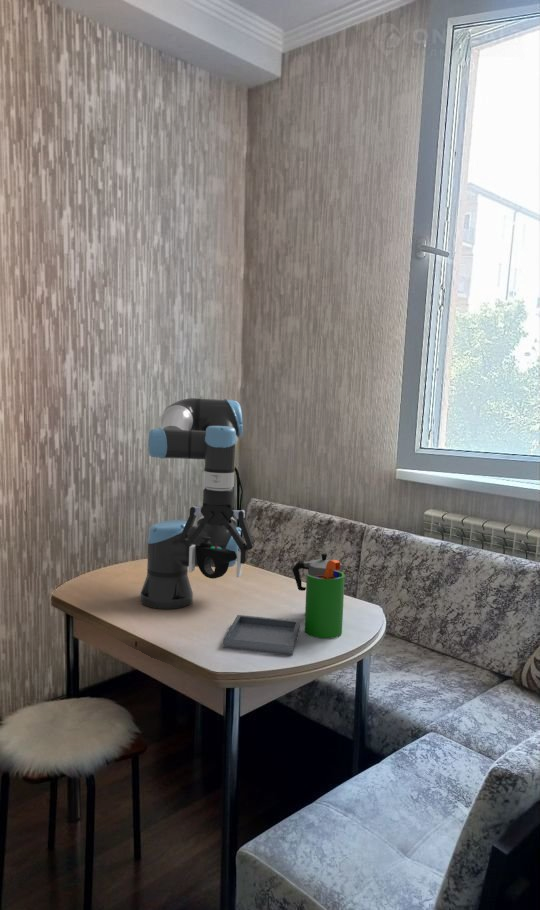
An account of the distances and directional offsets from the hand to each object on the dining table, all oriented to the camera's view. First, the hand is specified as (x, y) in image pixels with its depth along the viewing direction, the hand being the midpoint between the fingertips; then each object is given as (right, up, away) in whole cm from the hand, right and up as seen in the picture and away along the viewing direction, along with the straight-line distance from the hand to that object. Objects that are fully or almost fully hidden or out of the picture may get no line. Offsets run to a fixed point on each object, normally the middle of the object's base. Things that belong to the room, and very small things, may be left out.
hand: (215, 573), depth 174 cm
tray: (+12, -17, +2) cm, 21 cm away
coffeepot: (+27, -16, +21) cm, 38 cm away
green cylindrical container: (+28, -17, +9) cm, 34 cm away
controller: (0, -1, 0) cm, 1 cm away
